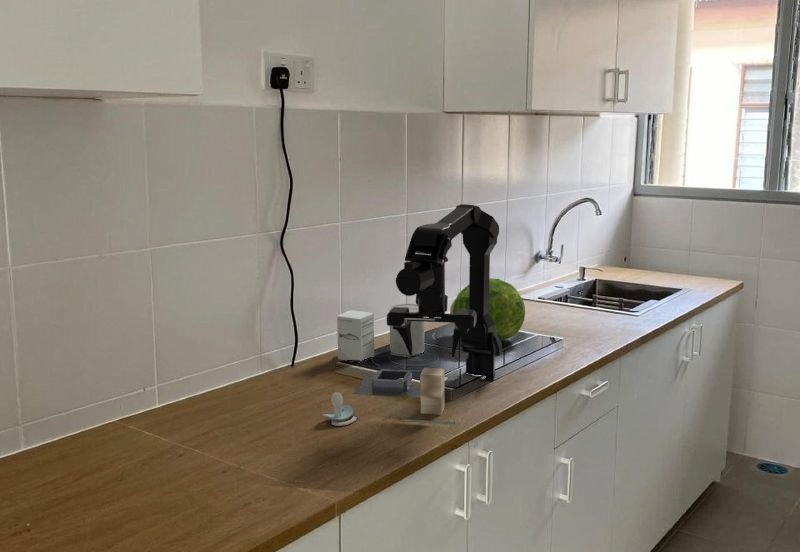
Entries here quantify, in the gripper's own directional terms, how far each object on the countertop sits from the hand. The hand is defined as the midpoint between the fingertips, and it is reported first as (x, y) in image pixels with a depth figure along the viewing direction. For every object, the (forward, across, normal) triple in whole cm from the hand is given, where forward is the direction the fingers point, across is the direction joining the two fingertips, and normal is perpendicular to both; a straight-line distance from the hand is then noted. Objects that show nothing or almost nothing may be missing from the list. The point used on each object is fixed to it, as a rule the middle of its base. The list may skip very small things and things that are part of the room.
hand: (432, 356), depth 175 cm
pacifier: (+13, +18, +8) cm, 24 cm away
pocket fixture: (+13, +12, -13) cm, 22 cm away
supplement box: (+13, +26, -33) cm, 44 cm away
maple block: (+12, 0, +1) cm, 12 cm away
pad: (+13, 0, +1) cm, 13 cm away
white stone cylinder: (+13, +14, -42) cm, 46 cm away
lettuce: (+13, -5, -55) cm, 57 cm away
